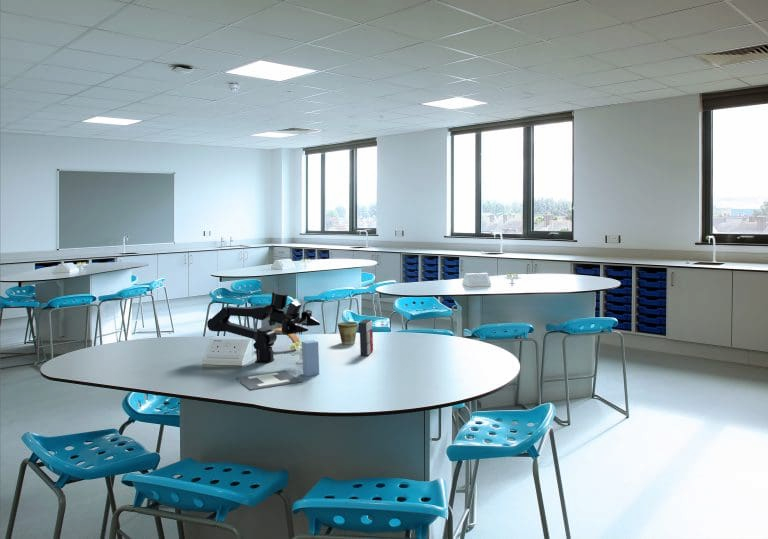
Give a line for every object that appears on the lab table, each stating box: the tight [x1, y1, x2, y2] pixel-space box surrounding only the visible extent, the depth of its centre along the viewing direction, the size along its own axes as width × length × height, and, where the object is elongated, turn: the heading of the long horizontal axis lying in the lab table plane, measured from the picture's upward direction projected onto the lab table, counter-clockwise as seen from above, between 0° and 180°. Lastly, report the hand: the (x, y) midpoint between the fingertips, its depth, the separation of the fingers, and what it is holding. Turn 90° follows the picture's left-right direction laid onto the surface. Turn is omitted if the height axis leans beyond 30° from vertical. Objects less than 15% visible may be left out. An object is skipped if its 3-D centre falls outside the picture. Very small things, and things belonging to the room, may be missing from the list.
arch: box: [272, 327, 301, 344], centre depth 289 cm, size 6×20×10 cm, turn 76°
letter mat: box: [236, 370, 303, 391], centre depth 231 cm, size 20×20×1 cm
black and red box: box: [357, 318, 374, 357], centre depth 273 cm, size 11×4×15 cm, turn 168°
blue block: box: [301, 339, 320, 377], centre depth 239 cm, size 5×5×13 cm
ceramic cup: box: [337, 321, 359, 345], centre depth 300 cm, size 13×10×10 cm
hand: (313, 326), depth 252 cm, fingers open, 9 cm apart
